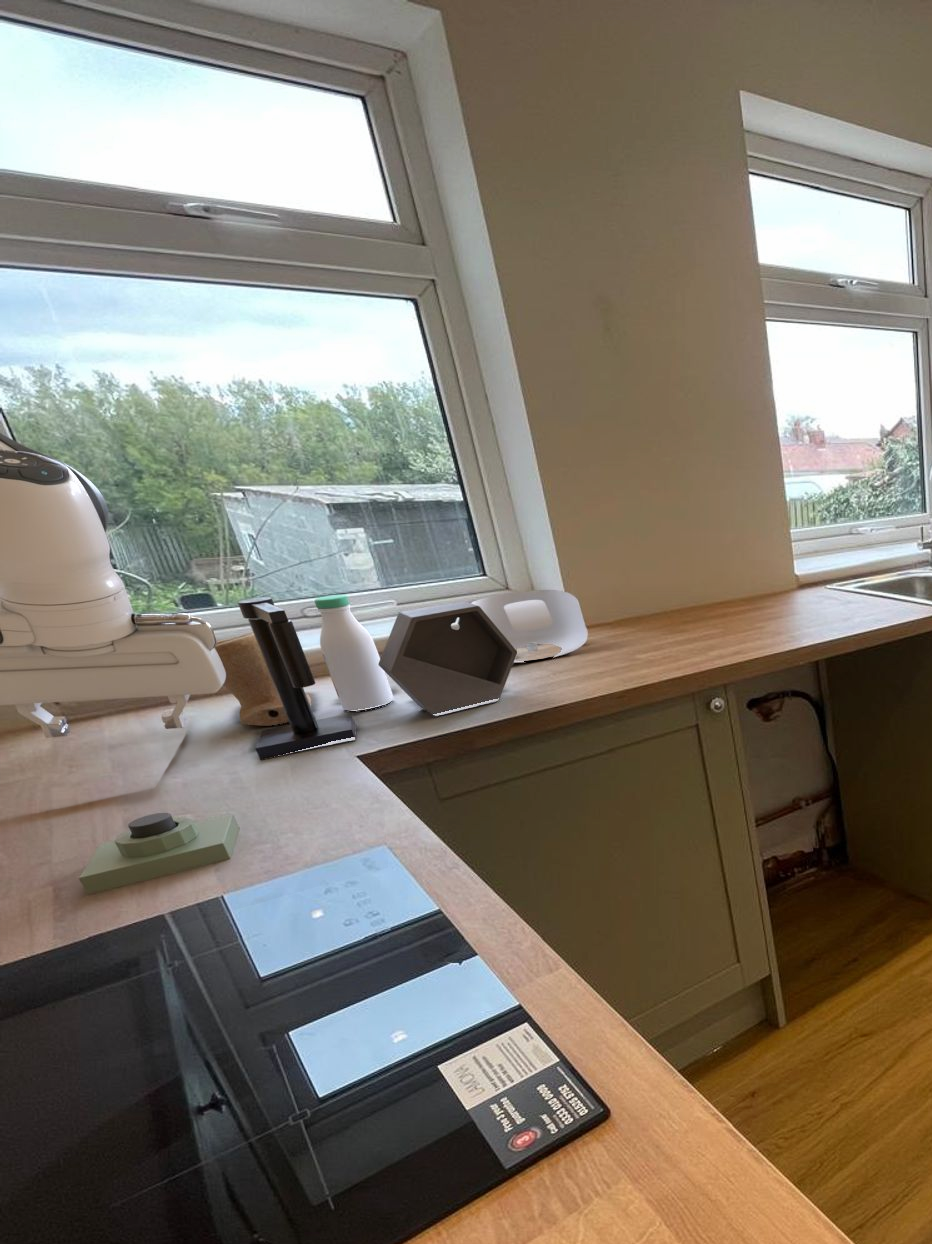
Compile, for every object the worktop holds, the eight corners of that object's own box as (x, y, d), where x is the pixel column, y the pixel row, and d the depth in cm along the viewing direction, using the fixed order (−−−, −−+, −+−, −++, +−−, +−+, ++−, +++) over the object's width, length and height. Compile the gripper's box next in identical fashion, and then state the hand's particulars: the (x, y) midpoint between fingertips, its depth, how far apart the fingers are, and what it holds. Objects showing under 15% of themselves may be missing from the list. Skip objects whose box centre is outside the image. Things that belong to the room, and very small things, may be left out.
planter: (378, 703, 134) (424, 586, 135) (366, 694, 138) (410, 581, 139) (487, 730, 147) (528, 623, 148) (473, 721, 152) (513, 618, 153)
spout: (264, 673, 127) (234, 601, 122) (295, 667, 130) (268, 596, 125) (290, 690, 118) (259, 612, 114) (323, 683, 121) (294, 607, 116)
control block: (87, 895, 89) (70, 863, 88) (108, 859, 97) (92, 830, 95) (230, 859, 96) (216, 829, 94) (239, 828, 103) (227, 800, 101)
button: (131, 843, 92) (124, 829, 92) (137, 831, 95) (131, 818, 94) (174, 833, 94) (167, 820, 94) (179, 822, 97) (172, 809, 96)
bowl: (570, 636, 192) (558, 586, 187) (593, 651, 178) (581, 597, 174) (474, 653, 180) (458, 600, 176) (491, 670, 166) (474, 614, 162)
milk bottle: (405, 699, 150) (368, 592, 143) (365, 714, 144) (324, 602, 136) (373, 697, 152) (335, 591, 145) (332, 711, 146) (290, 601, 138)
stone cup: (232, 715, 146) (196, 634, 140) (315, 700, 152) (284, 621, 147) (224, 738, 135) (186, 651, 129) (314, 720, 141) (282, 637, 135)
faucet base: (260, 760, 125) (204, 630, 117) (265, 741, 132) (213, 618, 124) (355, 740, 131) (309, 616, 123) (355, 724, 139) (312, 606, 131)
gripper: (213, 602, 93) (245, 709, 99) (-60, 606, 82) (-3, 725, 89) (202, 624, 88) (237, 734, 95) (-88, 631, 77) (-26, 754, 84)
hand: (119, 730), depth 92 cm, fingers open, 8 cm apart
